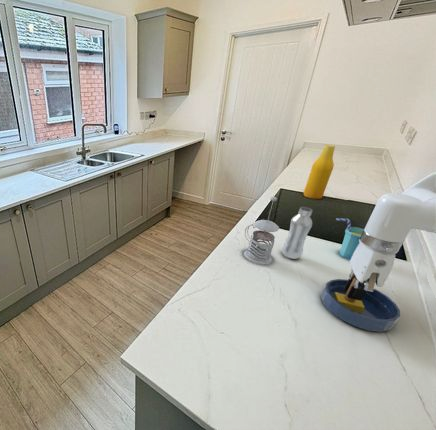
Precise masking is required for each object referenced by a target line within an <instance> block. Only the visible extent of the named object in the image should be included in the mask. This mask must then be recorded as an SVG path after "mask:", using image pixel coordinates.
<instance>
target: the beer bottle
mask: <svg viewBox="0 0 436 430" xmlns="http://www.w3.org/2000/svg"><path fill="white" fill-rule="evenodd" d="M335 149H336V146H335V145H333V144H325V145H324V147H323V149H322V151H321V153H320V155H319V157H318V158H317V159H316V160H314V162H313V164H312V166H311V169H310V172H309V176H308V179H307V181H306V184H305V186H304V190H303V196H304V197H305V198H309V199H311V200H320V199H322V198H323V197H324V194H325V192H326V188H327V185H328V183H329V180H330V178H331V175H332V173H333V169H334V165H335V164H334V158H333V157H334V153H335Z"/></svg>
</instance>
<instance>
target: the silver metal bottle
mask: <svg viewBox="0 0 436 430" xmlns="http://www.w3.org/2000/svg"><path fill="white" fill-rule="evenodd" d="M312 214H313V209H312V208H310V207H307V206H300V207H299V210H298V212H297V214H296V215H294V216H293V217H292V218H291V219H290V225H289V230H288V235H287V237H286V239H285V242H284V243H283V245H282V246H281V253H282V254H283V256H285V257H286V258H289V259H292V260H298V259H299V258H301V257H302V255H303V252H304V246H305V241H306V238H307V237H308V236H307V235H308V234H309V232H310V231H311V228H312V227H313V220H312V218H311V216H312Z"/></svg>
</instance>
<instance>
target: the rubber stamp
mask: <svg viewBox="0 0 436 430" xmlns="http://www.w3.org/2000/svg"><path fill="white" fill-rule="evenodd" d="M356 280H357V278H356V277H354V279H353V281H352V283H351V285H350V287H349V289H348V291H347V293H346V295H345V294H341V293H337V292H335V294H334V296H333V298H334V299H335V300H336V301H337V302H339V303H340V304H341V305H343V306H344V307H346V308H348V309H350V310H351V311H353V312H356V313H360V314H361V313H362V311H363V310H364V308H365V307H364V305H363V303H362V301H359V300H355V299H351V298H348V297H347V294H348V292H349V291H350V289H351V287H352V286H354V284H355V282H356ZM360 284H365V283H360Z"/></svg>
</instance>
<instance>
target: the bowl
mask: <svg viewBox="0 0 436 430" xmlns="http://www.w3.org/2000/svg"><path fill="white" fill-rule="evenodd" d="M347 281H348V279H342V278H337V279H335V278H334V279H331V280H329V281H327V282H326V283H325V285H324V288H323V290H322V292H321V295H320V299H321V302H322V303H323V305H324V306H325V307H326V309H327V310H328V311H329V312H331V314H333V315H334V316H336V317H337V318H339V319H340V320H342V321H344V322H345V323H347V324H349V325H351V326H354V327H357V328H359V329H363V330H366V331H369V332H370V331H371V332H380V333H381V332H382V333H383V332H387V331H390V330H391V329H392V328H394V326H395V325H396V323H397V322H398V320H399V319H400V317H401V310H400V308H399V306H398V305H397V303H396V302H394V301H393V300H392V298H390V297H389V296H387V295H386V294H385V293H383V292H381V291H380V290H378V289H376V288H374V290H373V292H370V291H366V293H365V295H364V297H363V299H362V300H361V301H362V303H363V305H364V307H365V308H364V310H363V311H362V313H361V314H360V313H356V312H353V311H351V310H350V309H348V308H346V307H344V306H343V305H341V304H340V303H339V302H337V301H336V300H335V299H334V298H333V296H334V294H335V292H337V293H341V294H345V295H346V293H347V291H345V290H344V287H345V285H346V283H347ZM364 285H366V283H364Z"/></svg>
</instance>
